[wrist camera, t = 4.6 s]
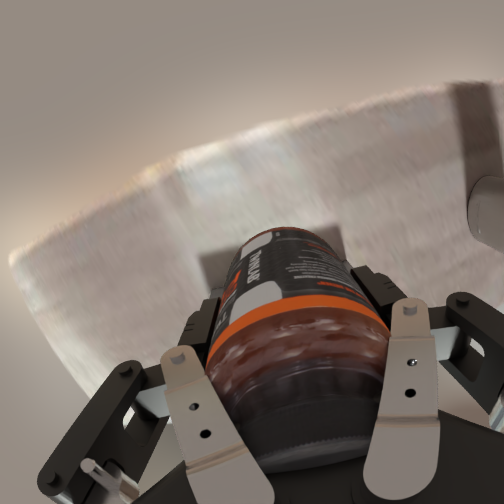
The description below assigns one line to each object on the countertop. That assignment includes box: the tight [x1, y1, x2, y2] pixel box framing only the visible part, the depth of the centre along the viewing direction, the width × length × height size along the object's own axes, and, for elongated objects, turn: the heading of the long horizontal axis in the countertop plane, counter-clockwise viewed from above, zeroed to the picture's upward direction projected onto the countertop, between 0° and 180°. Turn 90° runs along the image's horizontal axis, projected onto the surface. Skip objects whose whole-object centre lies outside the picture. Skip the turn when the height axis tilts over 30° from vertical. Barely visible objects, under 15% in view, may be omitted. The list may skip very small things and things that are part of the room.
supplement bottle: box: [204, 227, 392, 474], centre depth 10 cm, size 6×6×11 cm
